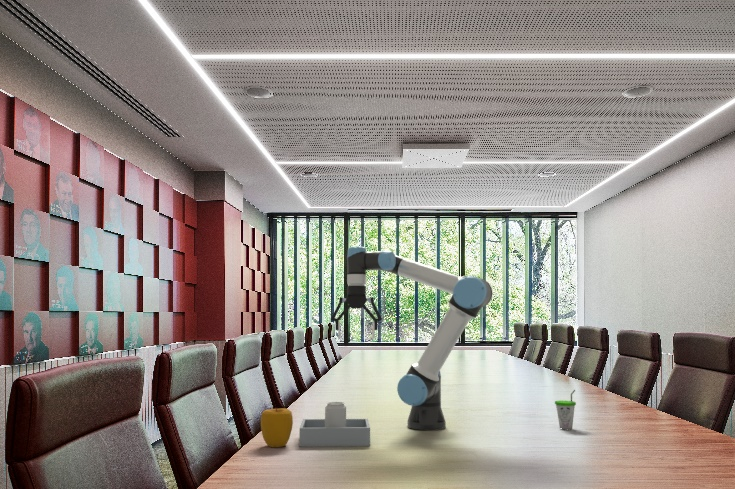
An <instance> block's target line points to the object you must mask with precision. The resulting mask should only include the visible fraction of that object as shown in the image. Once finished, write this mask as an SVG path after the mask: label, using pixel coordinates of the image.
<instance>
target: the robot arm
mask: <svg viewBox="0 0 735 489" xmlns="http://www.w3.org/2000/svg"><path fill="white" fill-rule="evenodd" d="M346 261H347V262H346V264H347V266H346V269H347V275H346V278H347V279H346V282H347V287H346V293H347V294H346V298H345V297H342V296H341V297H339V299H338V300H339V301H338V303H337V306H336V307H335V310H334V312H333V314H332V315H331V317H330V320H331V321H332V322H335V324H334V325H335V327H334V328H335V331H338V334H337V335H338V336H337V337H338V340H340V339H341V322H340V320H341V319H342V318H343V317H344V315H345V314H346V313H347V312H348V311H349V309H350V308H351V309H357V310H358V309H362V308H363V310H364V311H365V312H366V313H367V315H368V316H369V317H370V318H371V319H372V322H371V323H372V324H371V325H372V327H371V328H372V334H371V335H372V336H371V338H372V339H373V340H374V339H375V338H376V337H375V335H376V334H375V333H376V332H375V331H377V330H378V323H379V322H380V321H382V320H383V318H382V316H381V314H380V312H379V309H378V308H377V305H376V304H375V299H374V297H368V298H367V287H366V284H367V271H383V272H387V273H391V274H392V275H393V274H394V275H397V276H399V277H403V278H406V279H408V280H411V281H414V282H417V283H420V284H423V285H426V286H428V287H430V288H434V289H438V290H439V291H442V292H445V293H448V294H451V297H450V299H449V300H448V306H449V309H448V310H447V312H446V313H445V316H444V317H443V319H442V321H441V322H440V324H439V325H438V327H437V329H436V331H435V333H434V334H433V336H432V338H431V340H430V341H429V342H428V344H427V346H426V348H425V349H424V350H423V353H422V355H421V356H420V358H419V359H418V361H417V362H413V363H412V364H411V365H410V367H409V369H408V370H407V372H406V374H404V375H403V376H402V377H401V378H400V379H399V381H398V383H397V387H396V388H397V390H396V392H397V394H398V396H399V399H400V400H401V401H402V402H403V403H404V404H406V405H408V406H411V408H410V411H409V415H408V418H407V425H406V426H407V428H409V429H413V430H418V431H419V430H420V431H421V430H422V431H437V430H443V429H445V428H446V427H447V426H446V425H447V424H446V419H445V415H444V413H443V409H442V389H441V388H442V386H441V385H442V384H441V383H442V381H441V380H442V375H441V370H442V367H443V366H444V364H445V363H446V362H447V359H448V358H449V356H450V355H451V353H452V351H453V348H454V347H455V346H456V344H457V342H458V340H459V339H460V337H461V335H462V334H463V332H464V330H465V328H466V327H467V325H468V323H469V322H470V321H471V320H474V319H477V316H478V315H479V313H480V312H481V309H482V308H484V307H486V306H487V305H488V304H489V303H490V302H491V301H492V298H493V288H492V286H491V284H490V283H489V282H488V281H487V280H486V279H484V278H481V277H477V276H475V275H469V276H467V275H463V276H459V275H456V274H453V273H450V272H447V271H444V270H441V269H439V268H436V267H432V266H429V265H426V264H424V263H421V262H417V261H413V260H411V259H409V258H406V257H402V256H400V255H398V254H395V253H394V251H392V250H377V251H367V249H366V247H364V246H350V247H348V248H347V257H346ZM345 302H346V303H347V306H346V307H345V308H344V309H343V311H342V312H341V313H340V314H339V316H337V314H338V312H339V310H340V308H341V307H342V305H343V304H344V303H345ZM367 302H368V303H369V304H371V307H372V309H373V311H374V313H375V315H374V314H373V313H372V312H371V310H370V309H369V308H368V306H366V305H365V304H366V303H367ZM336 316H337V318H336ZM376 316H377V318H376Z"/></svg>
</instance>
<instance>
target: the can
mask: <svg viewBox="0 0 735 489" xmlns="http://www.w3.org/2000/svg"><path fill="white" fill-rule="evenodd" d="M326 404H327V405H326V406H325V407H324V419H325V428H337V427H346V419H347V406H346V405H345V403H344V402H342V401H328V402H327V403H326Z"/></svg>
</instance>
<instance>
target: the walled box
mask: <svg viewBox="0 0 735 489" xmlns="http://www.w3.org/2000/svg"><path fill="white" fill-rule="evenodd" d="M369 421H370V420H369V419H368V418H346V427H337V428H325V418H303V419H302V420H301V423H300V426H299V443H298V445H299V447H371V426H370V422H369Z"/></svg>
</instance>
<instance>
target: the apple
mask: <svg viewBox="0 0 735 489" xmlns="http://www.w3.org/2000/svg"><path fill="white" fill-rule="evenodd" d="M293 419H294V418H293V412H292V411H291V410H290V409H288V408H286V407H284V408H277V407H275V408H271V409H270V408H269V409H265V410H263V411H262V412H261V416H260V430H261V435H262V438H263V441H264V442H265V444H266V445H267V446H268V447H270V448H282V447H284V446H287V444H288V442H289V440H290V436H291V433H292V430H293V424H294V422H293Z"/></svg>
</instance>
